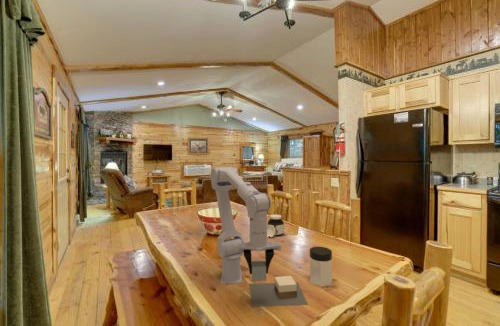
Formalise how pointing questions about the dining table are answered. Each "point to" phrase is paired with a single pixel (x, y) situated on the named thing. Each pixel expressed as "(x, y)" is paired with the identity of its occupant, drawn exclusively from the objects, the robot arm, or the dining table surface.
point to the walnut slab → (285, 293)
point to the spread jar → (275, 226)
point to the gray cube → (258, 270)
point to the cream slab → (285, 284)
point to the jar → (320, 266)
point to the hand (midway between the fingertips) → (258, 272)
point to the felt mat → (273, 296)
